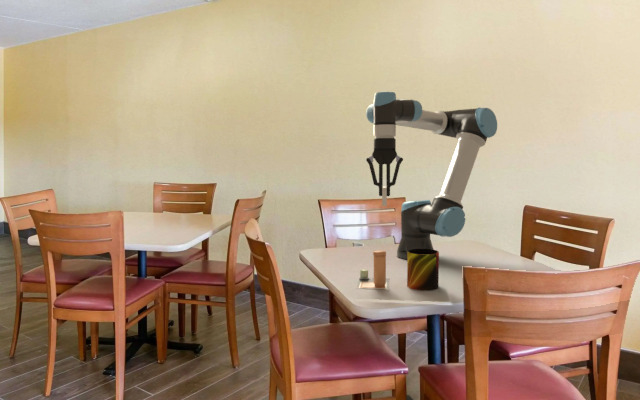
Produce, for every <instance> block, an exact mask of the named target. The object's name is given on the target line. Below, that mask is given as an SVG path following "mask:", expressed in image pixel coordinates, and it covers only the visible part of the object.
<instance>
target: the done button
mask: <svg viewBox="0 0 640 400" xmlns="http://www.w3.org/2000/svg"><path fill="white" fill-rule="evenodd" d="M359 271H360V272H359V275H360V276H359V278H369V270H368V269H360V270H359Z"/></svg>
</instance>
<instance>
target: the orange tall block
mask: <svg viewBox="0 0 640 400" xmlns="http://www.w3.org/2000/svg"><path fill="white" fill-rule="evenodd" d="M372 253H373V254H372V255H373V278H374V284H375V287H379V288H382V287H385V284H386V278H387V262H386V261H387V257H386V256H387V251H386V250H374V251H372Z"/></svg>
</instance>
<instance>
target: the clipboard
mask: <svg viewBox="0 0 640 400" xmlns="http://www.w3.org/2000/svg"><path fill="white" fill-rule="evenodd" d="M356 289H357V290H379V291H381V290H384V291H389V290H390V278H389V277H386V284H385V287H382V288H379V287H375V284H374V277H368V278H360V277H359V278H358V283H357V285H356Z"/></svg>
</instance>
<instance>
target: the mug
mask: <svg viewBox="0 0 640 400" xmlns="http://www.w3.org/2000/svg"><path fill="white" fill-rule="evenodd" d="M433 249H434V248H433ZM433 249H422V248H419V249H410V250H408V251H407V259H406V260H407V261H406V262H407V265H406V267H407V268H406V269H407V270H406V272H407V273H406V275H407V276H406V287H407V288H408V289H410V290H413V291H414V290H415V291H421V292H423V291H430V292H431V291H436V290H437V289H439V271H440V270H439V269H440V267H439V266H440V262H439V261H440V252H439V250H437V249H434V250H433Z"/></svg>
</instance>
